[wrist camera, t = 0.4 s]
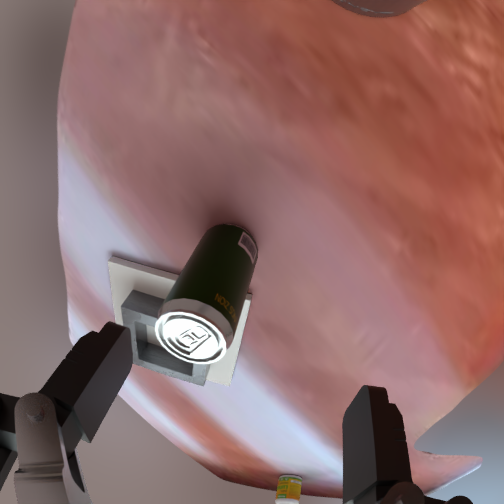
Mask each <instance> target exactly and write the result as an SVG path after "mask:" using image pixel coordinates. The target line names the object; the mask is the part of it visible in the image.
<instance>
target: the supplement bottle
mask: <svg viewBox="0 0 504 504" xmlns="http://www.w3.org/2000/svg"><path fill="white" fill-rule="evenodd" d="M301 484H302V478H301V477H299V476H296V475H282V476H280V477H279V481H278V487H277V493H276V499H275V503H276V504H299V499H300V491H301Z"/></svg>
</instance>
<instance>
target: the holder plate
mask: <svg viewBox="0 0 504 504" xmlns="http://www.w3.org/2000/svg"><path fill="white" fill-rule="evenodd" d="M108 266H109V275H110V284H111V292H112V300H113V307H114V314H115V320H116V324H119V325H122V326H123V320H122V313H121V305H122V304H123V302H124V301H125V300H126V298H127V297H128V295H129V294H130V292H131V291H132V290H136V291H140V292H143V293H146V294H149V295H153V296H156V297H159V298H162V299H166V297H167V295H168V293H169V292H170V290H171V288H172V287H173V285H174V283H175V282H176V280H177V278H178V277H179V275H176V274H173V273H169V272H166V271H162V270H159V269H155V268H152V267H148V266H145V265H141V264H138V263H134V262H131V261H127V260H124V259H121V258H117V257H114V256H112V257H111V258H110V259H109V260H108ZM251 298H252V294H248V293H247V295H246V299H245V302H244V306H243V309H242V312H241V316H240V319H239V322H238V326H237V329H236V333H235V336H234V339H233V342H232V344H231V346H230V348H228V349H227V350H226V352H225V354H224V356H223V357H222V358H221V359H220V360H218V361H217V362H214V363H211V364H210V369H209V372H208V375H207V378H206V380H208V381H212V382H215V383H219V384H223V385H226V386H230V383H231V380H232V376H233V372H234V368H235V363H236V359H237V355H238V351H239V347H240V343H241V339H242V335H243V331H244V327H245V323H246V319H247V315H248V311H249V306H250V302H251ZM146 327H147V340H148V342H149V343H152V344H155V345H158V346H161V347H163V346H162V345H161V343H160V342H159V340H158V339H157V337H156V333H155V327H152V326H149V325H146Z"/></svg>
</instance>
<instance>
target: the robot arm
mask: <svg viewBox="0 0 504 504" xmlns="http://www.w3.org/2000/svg"><path fill="white" fill-rule="evenodd" d="M332 1H334V2H335V3H336V4H338V5H340V6H342V7H343V8H345V9H347V10H350V11H352V12H355V13H358V14H361V15H366V16H370V17H391V16H397V15H400V14H402V13H405V12H407V11H409V10H411V9H412V8H414V7H416V6H417V5H419V4H421V3H423V2H425V1H427V0H332ZM132 363H133V352H132V341H131V331H130V328H128V327H125V326H122V325H119V324H116V323H114V322H111V321H109V322H107V323H106V324H105V325H104V327H103V328H102V329H101V331H100V332H99V333H97V332H95V331H91V332H89V333H88V334H86V335H84V336H83V337H81V338H80V339H79V340H78V341H77V343H76V344H75V345H74V347H73V348H72V351H71V350H70V352H69V353H68V354H67V356H66V358H65V359H64V360H63V361H62V362H61V364H60V365H59V366H58V367H57V369H56V370H55V371H54V373H53V374H52V376H51V377H50V378H49V379H48V381H47V382H46V384H45V385H44V387H43V388H42V389H41V390H40V391H39V392H38V393H29V394H26V395H24V396H22V397H21V398H20V397H14V396H10V395H6V394H2V393H0V491H1V488H2V486H3V484H4V482H5V480H6V478H7V476H8V474H9V472H10V470H11V468H12V466H13V464H14V462H15V460H16V458H17V456H18V460H19V470H18V471H15V473H14V485H15V491H16V496H17V501H18V504H93V503H92V501H91V499H90V497H89V494H88V491H87V487H86V484H85V480H84V476H83V473H82V469H81V465H80V461H79V457H78V452H77V448H76V446H77V444H78V443H79V441H80V439H82V440H84V441H86V442H88V443H91V441H92V439H93V437H94V436H95V434H96V432H97V430H98V428H99V426H100V424H101V423H102V421H103V419H104V417H105V415H106V413H107V412H108V410H109V408H110V406H111V405H112V403H113V401H114V399H115V397H116V396H117V394H118V392H119V390H120V388H121V387H122V385H123V383H124V381H125V380H126V378H127V376H128V374H129V373H130V370H131V367H132ZM342 428H343V504H473V503H472V502H471V500H470V499H468V498H467V497H465V496H456V497H453V498H452V499H450V500H449V501H443V500H439V499H434V498H430V497H427V496H425V495H424V494H423V492H422V490H421V489H420V488H419V487H418V486H417V485H416V484H414V483H413V481H412V477H411V469H410V462H409V454H408V448H407V442H406V435H405V431H404V423H403V418H402V415H401V413H400V411H399V410H398V408H397V406H396V405H395V404H392V403H389V400H388V395H387V390H386V389H385V388H384V387H376V386H368V385H364V386H362V388H361V389H360V390H359V392H358V393H357V395H356V396H355V398H354V399H353V401H352V402H351V404H350V405H349V407H348V408H347V410H346V412H345V414H344V418H343V424H342Z"/></svg>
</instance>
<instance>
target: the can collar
mask: <svg viewBox="0 0 504 504" xmlns="http://www.w3.org/2000/svg"><path fill="white" fill-rule="evenodd" d="M164 300H165V299H162V298H159V297H156V296H153V295H149V294H146V293H143V292H140V291H136V290H132V291H131V292H130V294H129V295H128V297H127V298H126V300H125V301H124V302H123V304H122V305H121V313H122V320H123V326H125V327H128V328H130V331H131V341H132V352H133V364H136V365H139V366H141V367H144V368H147V369H150V370H153V371H156V372H159V373H162V374H165V375H168V376H171V377H174V378H177V379H180V380H184V381H187V382H190V383H193V384H197V385H200V386H204V384H205V381H206V378H207V375H208V372H209V369H210V364H211V363H210V364H195V363H190V362H187V361H184V360H182V359H179V358H177V357H176V356H174V355H173V354H171V353H170V352H168V351H167V350H166V349H165V348H164V347H161V346H158V345H155V344H152V343H149V342H148V340H147V327H146V325H149V326H152V327H155V325H156V321H157V316H158V311H159V309H160V307H161V305H162V304H163V302H164Z"/></svg>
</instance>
